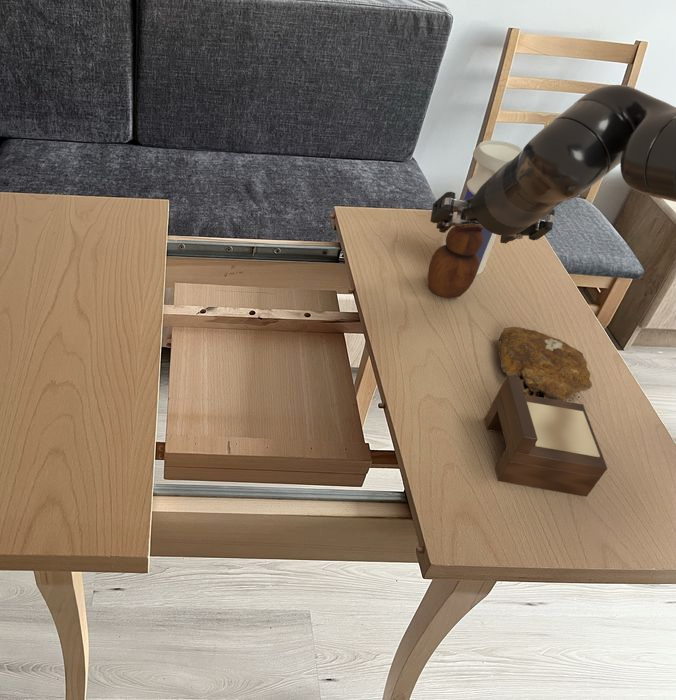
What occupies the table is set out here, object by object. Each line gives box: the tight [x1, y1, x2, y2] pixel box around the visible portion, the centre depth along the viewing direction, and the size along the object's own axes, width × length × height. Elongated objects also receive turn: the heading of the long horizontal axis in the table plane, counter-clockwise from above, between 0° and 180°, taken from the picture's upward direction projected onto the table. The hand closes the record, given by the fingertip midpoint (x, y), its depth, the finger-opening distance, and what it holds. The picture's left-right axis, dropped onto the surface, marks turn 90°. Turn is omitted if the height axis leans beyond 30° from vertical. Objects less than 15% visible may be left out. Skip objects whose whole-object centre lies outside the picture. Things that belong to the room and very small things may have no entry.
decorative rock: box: [497, 326, 593, 401], centre depth 92 cm, size 11×4×15 cm
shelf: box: [484, 374, 608, 497], centre depth 80 cm, size 10×10×8 cm
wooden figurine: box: [427, 217, 483, 299], centre depth 102 cm, size 7×6×15 cm
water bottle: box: [441, 120, 550, 276], centre depth 106 cm, size 8×9×25 cm
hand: (473, 231), depth 97 cm, fingers open, 8 cm apart
